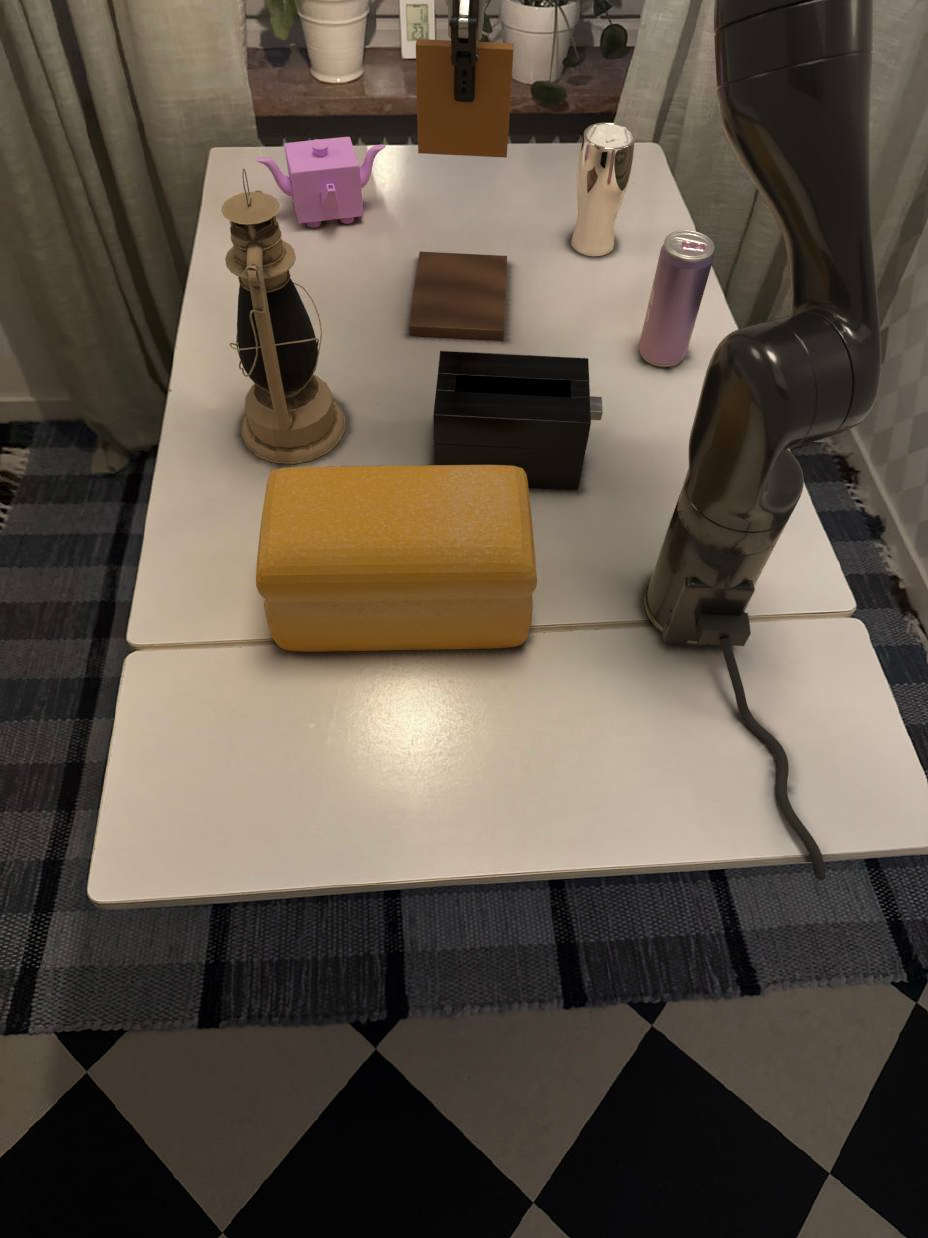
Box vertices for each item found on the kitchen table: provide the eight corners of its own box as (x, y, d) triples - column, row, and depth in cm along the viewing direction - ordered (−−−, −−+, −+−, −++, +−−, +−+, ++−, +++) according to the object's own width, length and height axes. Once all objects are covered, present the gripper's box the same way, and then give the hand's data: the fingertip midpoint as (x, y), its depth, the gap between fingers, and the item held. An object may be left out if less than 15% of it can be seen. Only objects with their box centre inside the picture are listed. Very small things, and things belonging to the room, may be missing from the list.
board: (503, 340, 109) (504, 330, 107) (409, 335, 109) (408, 325, 107) (506, 265, 117) (507, 255, 116) (419, 260, 118) (419, 250, 116)
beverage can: (683, 372, 106) (715, 263, 93) (635, 365, 106) (660, 255, 94) (686, 342, 109) (717, 232, 97) (639, 335, 110) (664, 225, 97)
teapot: (271, 248, 118) (258, 179, 110) (261, 197, 126) (248, 128, 117) (398, 233, 121) (395, 164, 113) (381, 183, 128) (377, 115, 120)
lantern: (245, 386, 103) (181, 128, 78) (344, 381, 104) (312, 125, 79) (238, 474, 95) (164, 219, 70) (345, 469, 96) (310, 214, 71)
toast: (506, 157, 96) (513, 49, 87) (418, 153, 96) (415, 44, 87) (507, 151, 97) (513, 42, 88) (419, 146, 97) (416, 38, 88)
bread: (519, 546, 90) (531, 442, 77) (528, 650, 83) (543, 554, 70) (286, 549, 89) (260, 445, 77) (274, 655, 82) (244, 558, 69)
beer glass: (559, 249, 120) (573, 140, 107) (579, 224, 123) (595, 116, 111) (605, 264, 118) (625, 154, 106) (624, 238, 121) (645, 129, 109)
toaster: (592, 491, 94) (606, 423, 86) (434, 482, 95) (433, 414, 86) (590, 427, 100) (603, 358, 92) (440, 419, 100) (440, 350, 92)
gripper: (432, -137, 81) (434, 64, 95) (421, -83, 73) (424, 126, 88) (512, -134, 81) (501, 67, 95) (508, -79, 73) (497, 130, 88)
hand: (464, 95), depth 91 cm, fingers closed on toast, 1 cm apart
